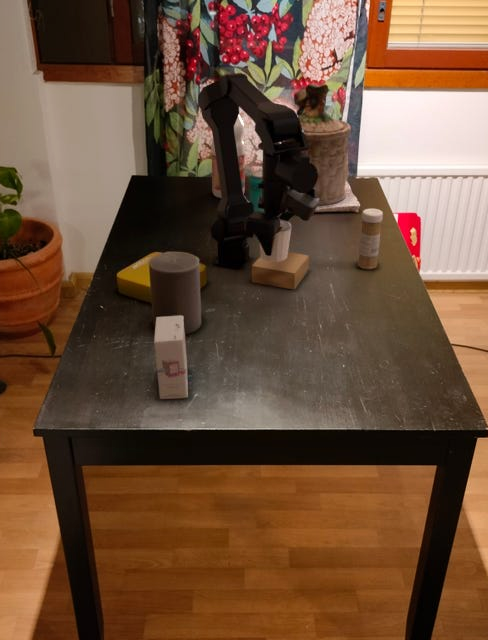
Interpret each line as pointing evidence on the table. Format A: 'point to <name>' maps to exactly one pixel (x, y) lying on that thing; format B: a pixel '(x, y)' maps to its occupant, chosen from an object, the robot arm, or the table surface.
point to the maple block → (281, 271)
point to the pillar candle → (176, 288)
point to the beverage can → (256, 189)
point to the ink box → (171, 357)
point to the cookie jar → (326, 149)
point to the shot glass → (279, 244)
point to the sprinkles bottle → (370, 238)
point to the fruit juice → (241, 157)
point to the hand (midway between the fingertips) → (273, 249)
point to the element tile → (144, 279)
